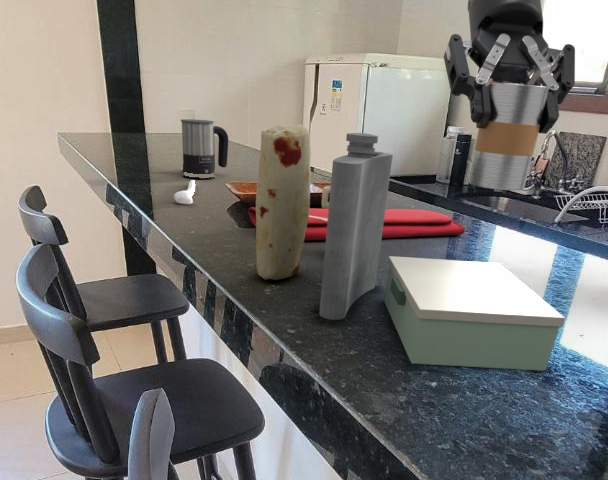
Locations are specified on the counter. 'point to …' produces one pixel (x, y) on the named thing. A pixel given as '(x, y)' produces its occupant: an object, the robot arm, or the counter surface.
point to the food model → (282, 200)
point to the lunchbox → (469, 315)
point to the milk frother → (202, 146)
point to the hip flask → (354, 224)
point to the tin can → (508, 136)
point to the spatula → (186, 194)
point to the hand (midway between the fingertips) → (515, 124)
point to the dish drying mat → (387, 223)
